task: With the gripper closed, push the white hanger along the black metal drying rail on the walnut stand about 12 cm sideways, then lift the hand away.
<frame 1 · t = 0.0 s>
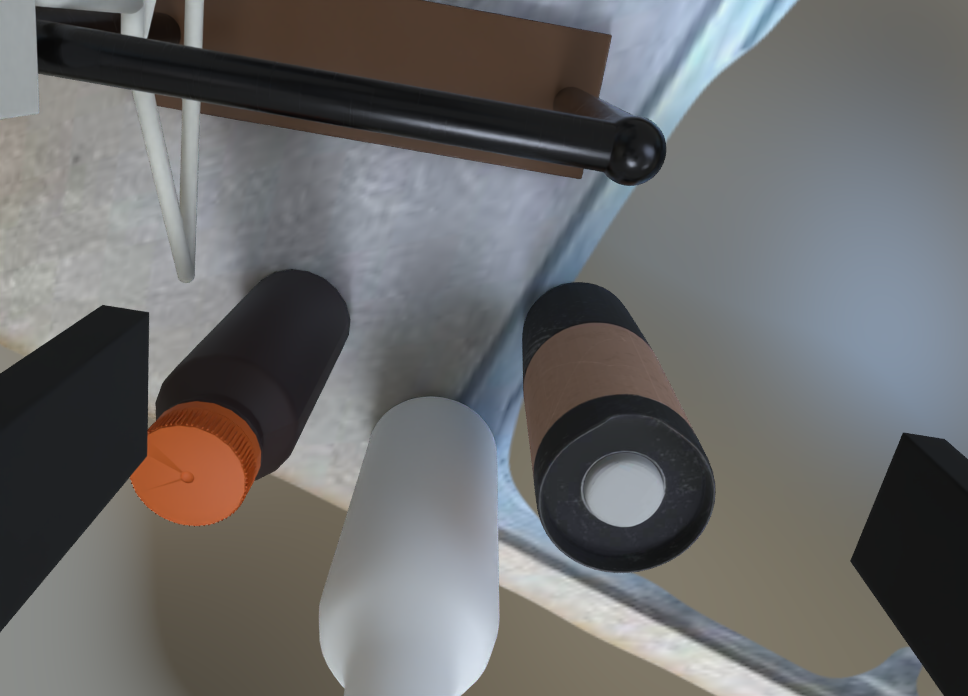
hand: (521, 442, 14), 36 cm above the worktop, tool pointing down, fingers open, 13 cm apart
alcohol: (433, 447, 54), on the worktop
bottle: (299, 316, 51), on the worktop
rail: (373, 68, 45), on the worktop
hanger: (107, 48, 28), point 18 cm above the worktop, slide at -7.0 cm
travel mug: (576, 332, 51), on the worktop
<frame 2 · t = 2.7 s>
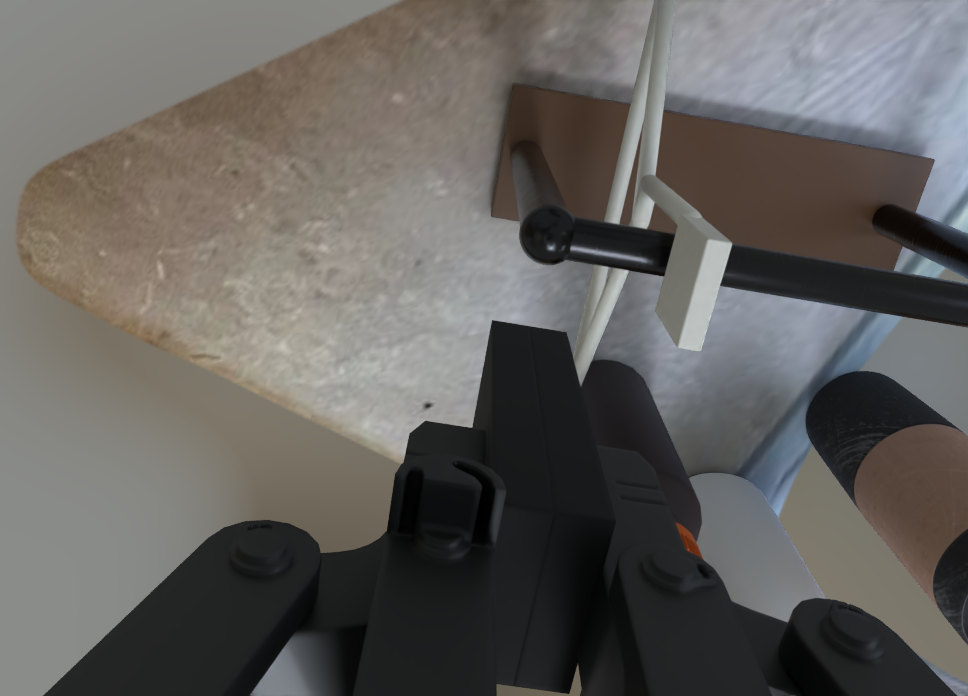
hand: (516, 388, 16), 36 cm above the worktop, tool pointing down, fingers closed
alcohol: (707, 516, 59), on the worktop
bottle: (601, 400, 55), on the worktop
rail: (703, 184, 49), on the worktop
hanger: (649, 230, 32), point 18 cm above the worktop, slide at -7.0 cm
travel mug: (854, 414, 55), on the worktop
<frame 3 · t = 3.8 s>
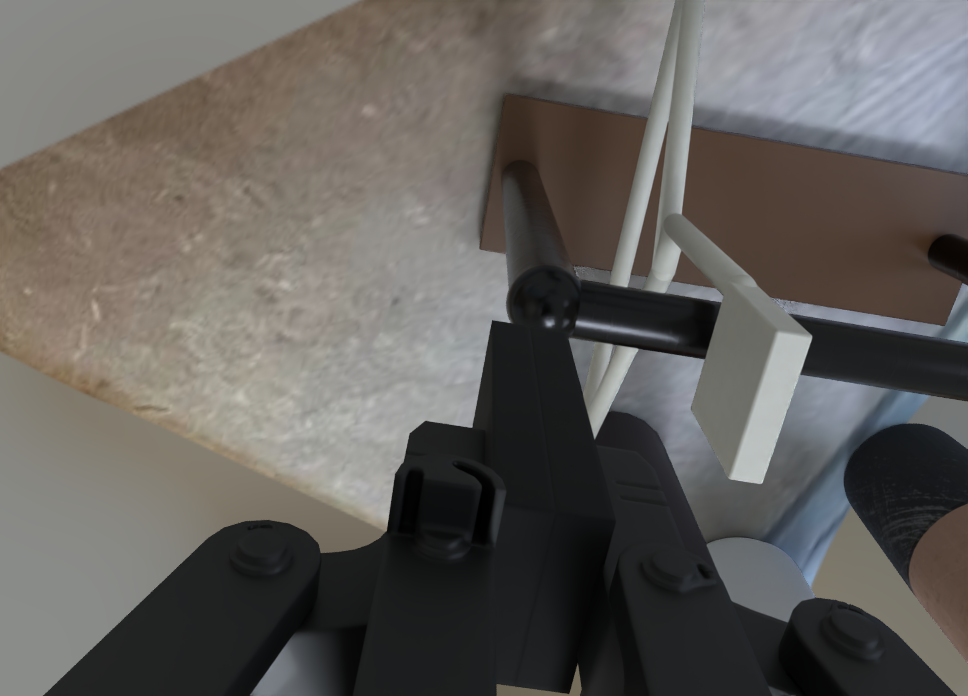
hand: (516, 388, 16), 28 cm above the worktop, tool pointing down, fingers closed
alcohol: (729, 584, 51), on the worktop
bottle: (608, 457, 48), on the worktop
rail: (728, 210, 42), on the worktop
hanger: (676, 287, 25), point 18 cm above the worktop, slide at -7.0 cm
travel mug: (900, 472, 48), on the worktop
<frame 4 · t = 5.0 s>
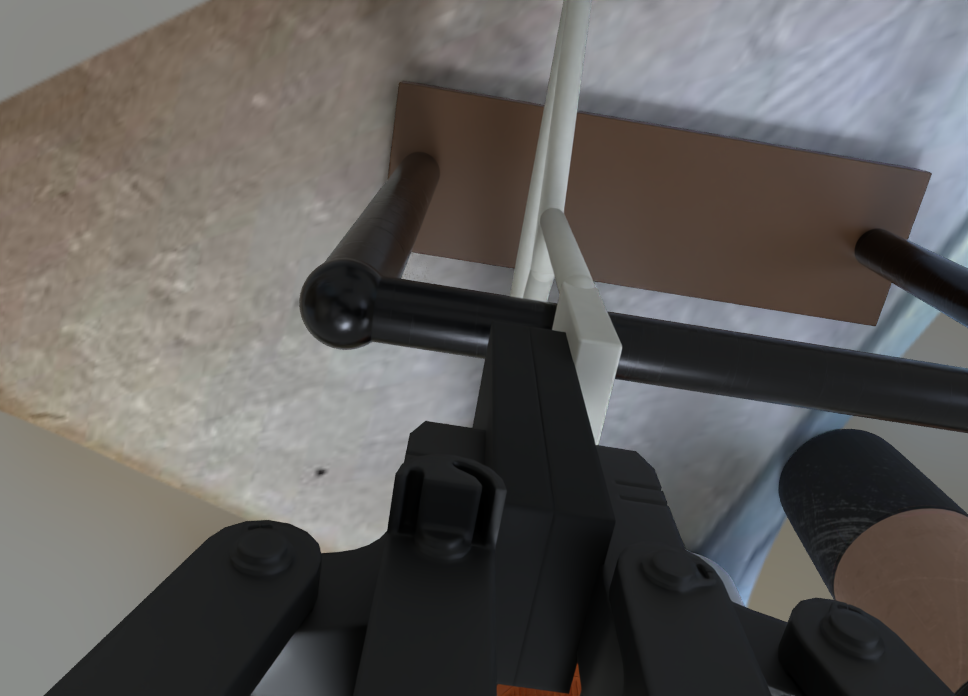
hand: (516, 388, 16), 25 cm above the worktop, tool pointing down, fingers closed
alcohol: (663, 598, 49), on the worktop
bottle: (530, 465, 46), on the worktop
rail: (644, 205, 40), on the worktop
hanger: (547, 289, 23), point 18 cm above the worktop, slide at -6.3 cm, touching gripper
travel mug: (837, 480, 46), on the worktop
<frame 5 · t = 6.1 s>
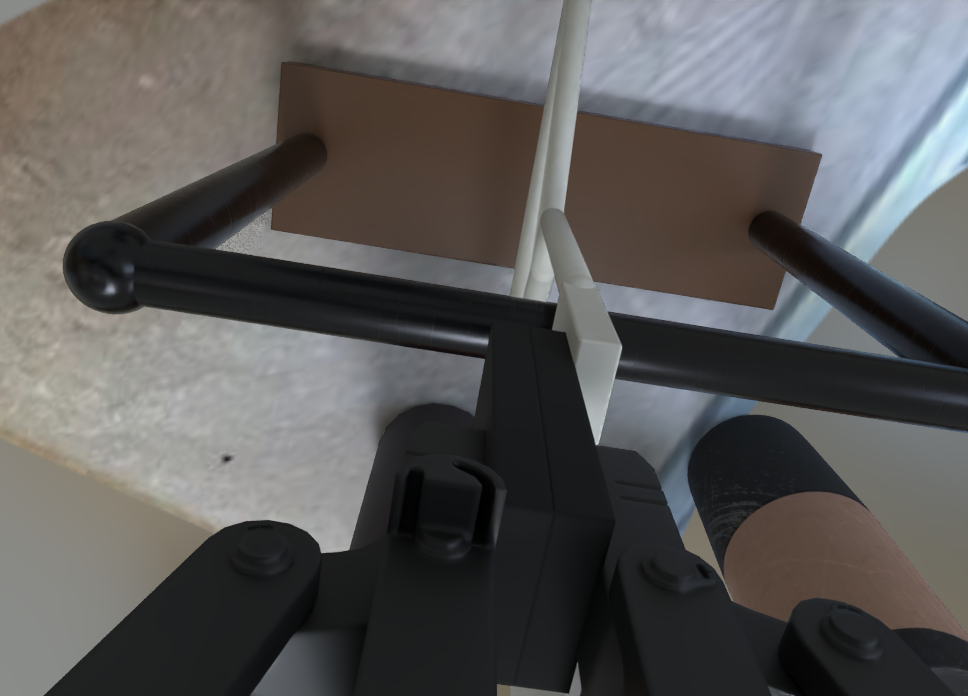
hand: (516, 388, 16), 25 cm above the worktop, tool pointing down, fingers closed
alcohol: (577, 586, 49), on the worktop
bottle: (437, 451, 45), on the worktop
rail: (539, 187, 39), on the worktop
hanger: (547, 289, 23), point 18 cm above the worktop, slide at -0.8 cm, touching gripper
travel mug: (746, 466, 45), on the worktop
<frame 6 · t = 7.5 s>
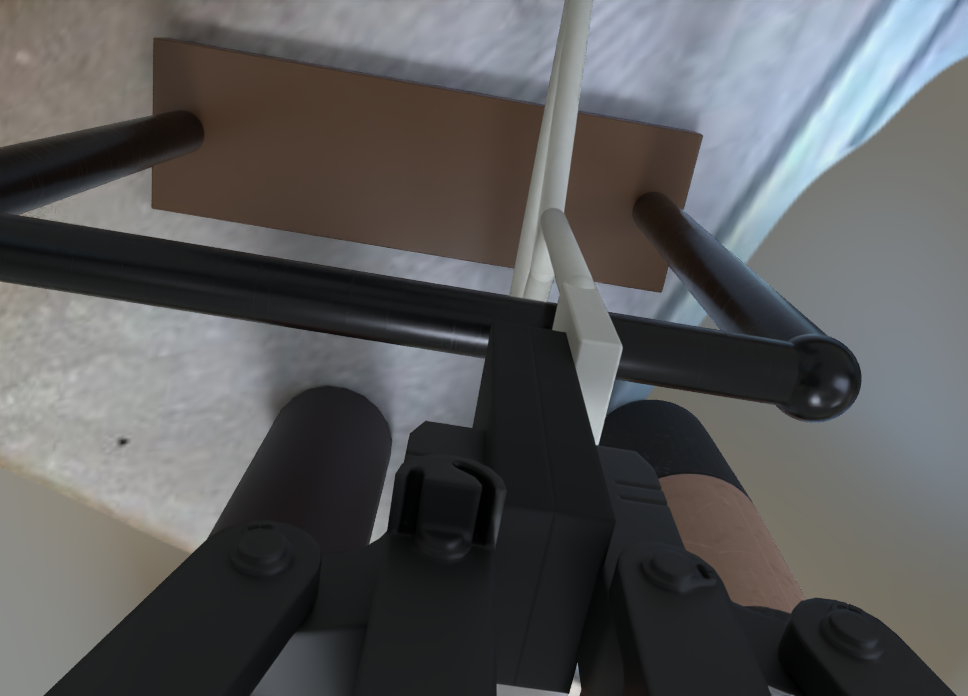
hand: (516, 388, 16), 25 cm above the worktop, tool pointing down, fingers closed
alcohol: (482, 573, 48), on the worktop
bottle: (334, 435, 45), on the worktop
rail: (424, 167, 39), on the worktop
hanger: (547, 289, 23), point 18 cm above the worktop, slide at 5.1 cm, touching gripper
travel mug: (646, 452, 45), on the worktop
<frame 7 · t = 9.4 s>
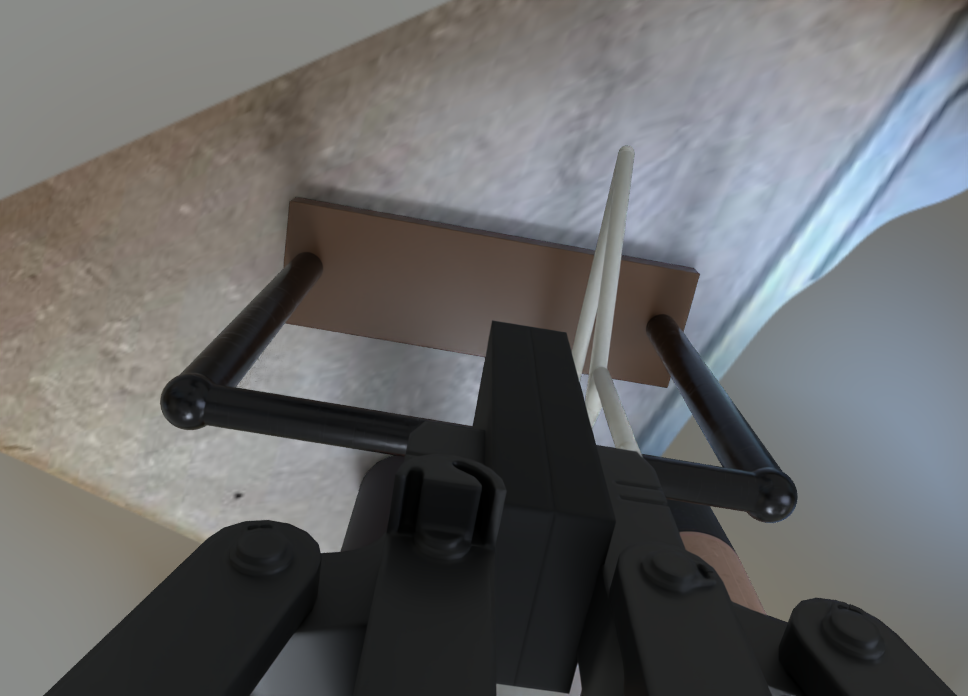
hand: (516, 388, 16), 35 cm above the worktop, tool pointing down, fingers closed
alcohol: (520, 601, 60), on the worktop
bottle: (407, 492, 57), on the worktop
rail: (486, 291, 51), on the worktop
hanger: (599, 425, 35), point 18 cm above the worktop, slide at 5.1 cm
travel mug: (654, 507, 57), on the worktop
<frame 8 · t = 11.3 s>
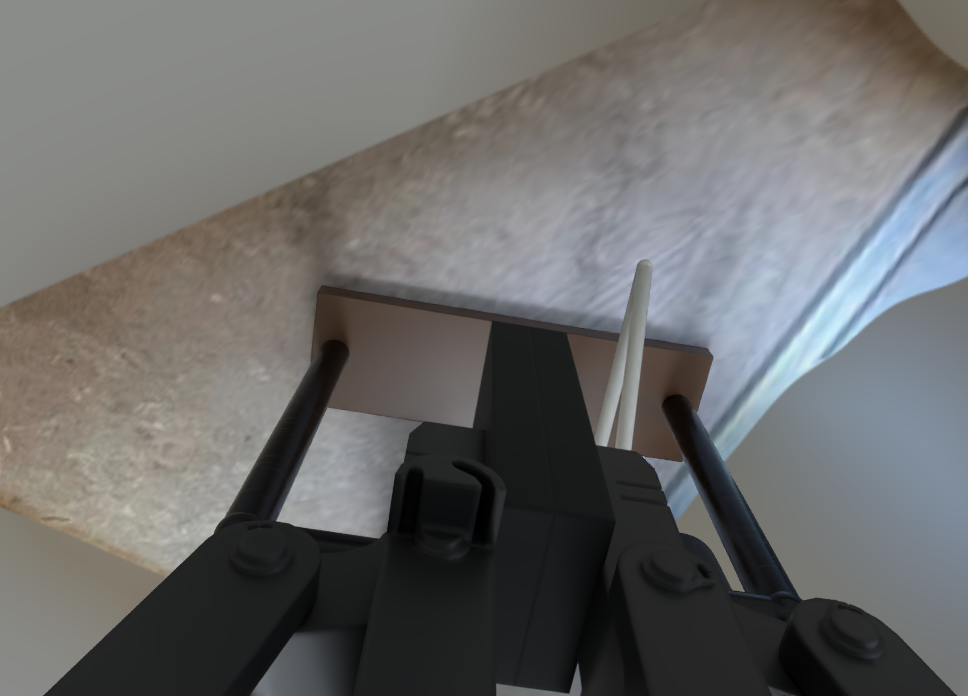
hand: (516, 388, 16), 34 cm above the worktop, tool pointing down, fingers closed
alcohol: (539, 657, 62), on the worktop
rail: (506, 372, 53), on the worktop
hanger: (621, 540, 36), point 18 cm above the worktop, slide at 5.1 cm
travel mug: (668, 569, 59), on the worktop
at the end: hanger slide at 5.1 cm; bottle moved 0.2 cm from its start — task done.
